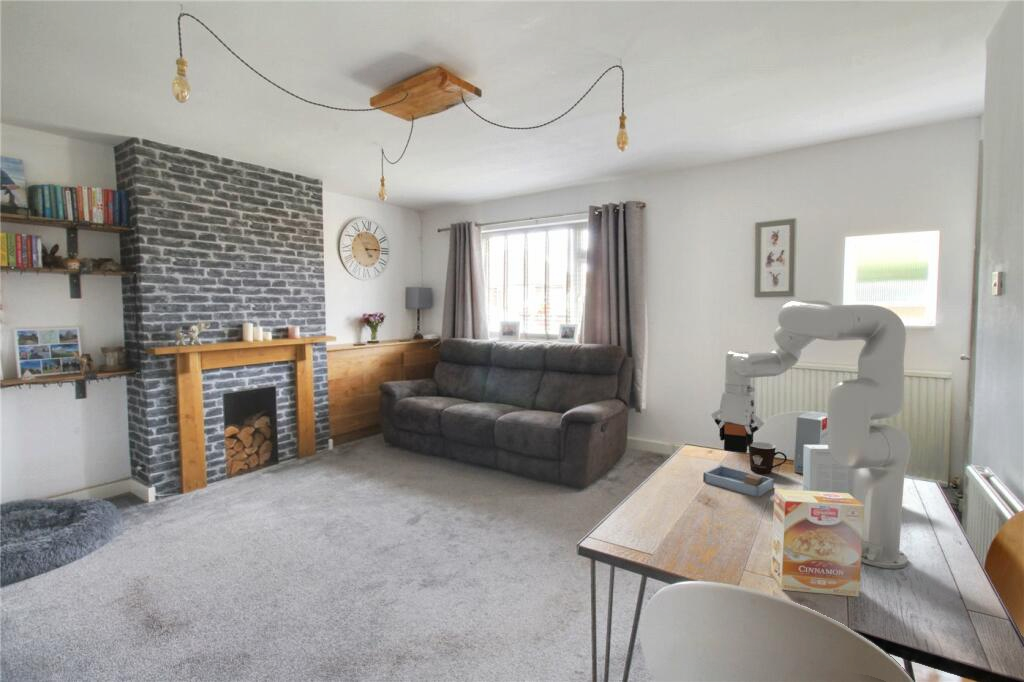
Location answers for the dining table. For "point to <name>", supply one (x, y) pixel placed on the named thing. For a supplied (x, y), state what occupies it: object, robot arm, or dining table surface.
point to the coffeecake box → (817, 542)
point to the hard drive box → (809, 434)
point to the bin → (736, 480)
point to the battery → (735, 438)
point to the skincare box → (824, 471)
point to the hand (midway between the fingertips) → (735, 442)
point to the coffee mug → (763, 457)
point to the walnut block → (753, 480)
